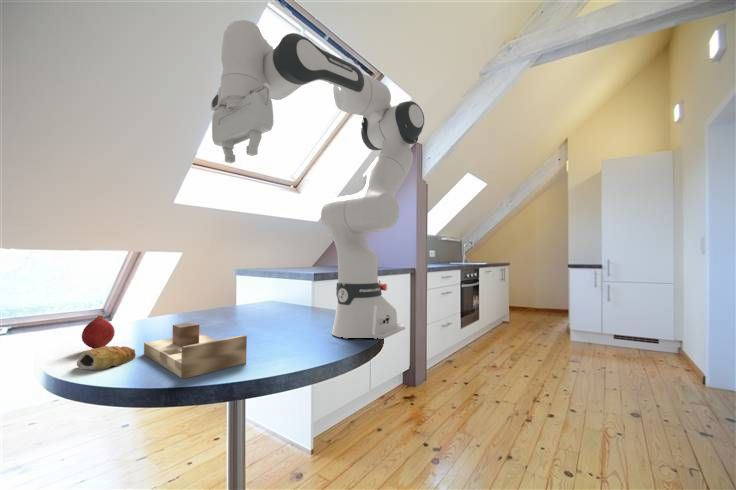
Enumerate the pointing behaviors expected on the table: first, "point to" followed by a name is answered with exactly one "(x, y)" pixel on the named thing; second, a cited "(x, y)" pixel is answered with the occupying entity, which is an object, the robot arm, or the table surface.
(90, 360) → the pastry
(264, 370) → the table surface
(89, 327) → the onion
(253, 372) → the table surface
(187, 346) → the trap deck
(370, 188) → the robot arm
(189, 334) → the walnut block
